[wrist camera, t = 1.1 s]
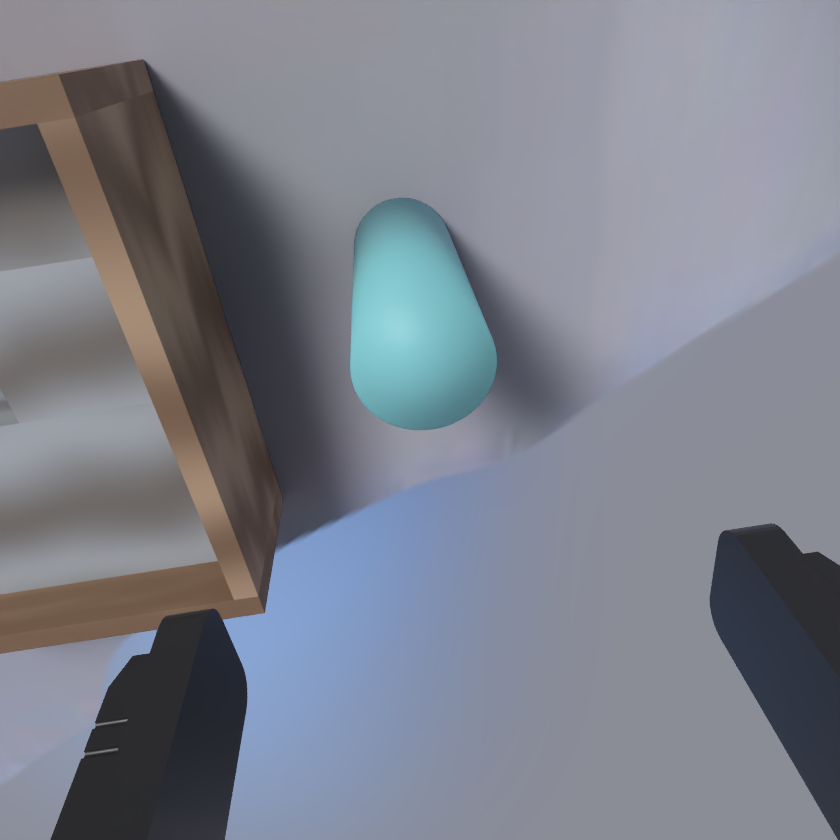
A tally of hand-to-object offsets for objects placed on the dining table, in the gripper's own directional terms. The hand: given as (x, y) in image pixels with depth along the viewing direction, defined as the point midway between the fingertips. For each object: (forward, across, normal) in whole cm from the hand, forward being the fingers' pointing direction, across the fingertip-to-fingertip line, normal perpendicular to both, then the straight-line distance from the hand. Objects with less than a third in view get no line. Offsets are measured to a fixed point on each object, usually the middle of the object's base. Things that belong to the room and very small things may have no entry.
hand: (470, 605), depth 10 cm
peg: (+19, 0, 0) cm, 19 cm away
